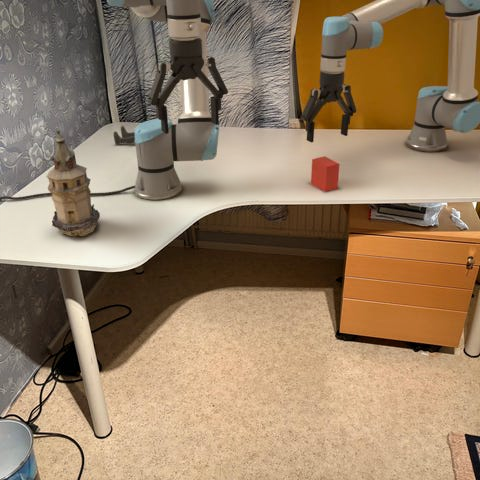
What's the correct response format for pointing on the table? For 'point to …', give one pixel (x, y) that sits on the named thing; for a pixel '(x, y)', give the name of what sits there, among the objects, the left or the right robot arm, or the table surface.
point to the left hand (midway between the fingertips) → (190, 127)
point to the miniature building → (70, 193)
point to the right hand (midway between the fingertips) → (327, 138)
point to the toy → (124, 137)
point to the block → (325, 173)
